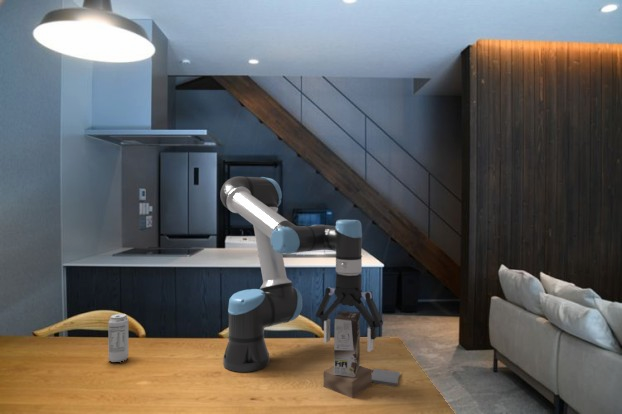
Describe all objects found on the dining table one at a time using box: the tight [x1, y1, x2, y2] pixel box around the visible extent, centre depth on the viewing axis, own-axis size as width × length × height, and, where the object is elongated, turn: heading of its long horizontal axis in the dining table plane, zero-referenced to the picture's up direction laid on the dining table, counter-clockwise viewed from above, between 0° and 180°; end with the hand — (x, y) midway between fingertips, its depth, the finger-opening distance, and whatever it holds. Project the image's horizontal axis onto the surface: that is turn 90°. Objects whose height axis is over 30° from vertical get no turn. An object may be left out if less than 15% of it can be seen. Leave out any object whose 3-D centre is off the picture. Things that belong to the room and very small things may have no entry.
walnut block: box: [323, 365, 373, 399], centre depth 115 cm, size 10×10×5 cm
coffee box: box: [333, 310, 361, 377], centre depth 115 cm, size 9×6×16 cm
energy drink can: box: [107, 313, 129, 363], centre depth 133 cm, size 6×6×15 cm
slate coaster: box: [371, 368, 401, 387], centre depth 120 cm, size 8×8×1 cm
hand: (348, 345), depth 115 cm, fingers open, 13 cm apart
